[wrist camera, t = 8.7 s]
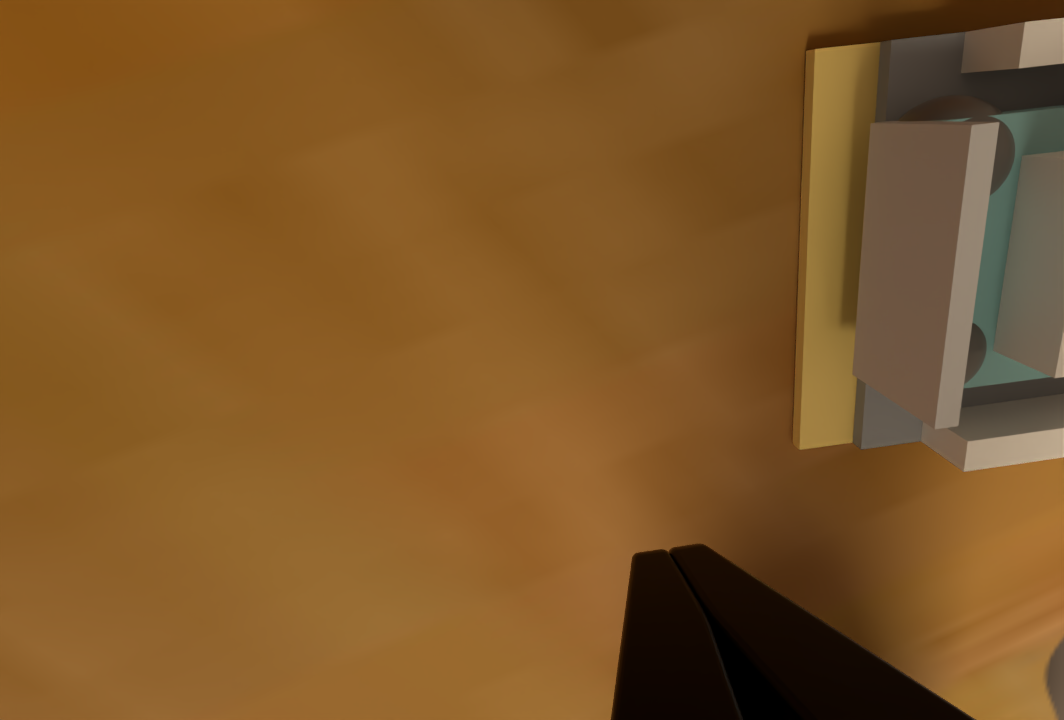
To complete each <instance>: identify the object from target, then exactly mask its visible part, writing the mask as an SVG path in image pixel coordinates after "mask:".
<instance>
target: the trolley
mask: <svg viewBox="0 0 1064 720" xmlns="http://www.w3.org/2000/svg"><path fill="white" fill-rule="evenodd" d="M852 375H854V376H855V377H857V378H858V379H860V380H861V381H863V382H864V383H866V384H867V385H869V386H870V387H872V388H873V389H875V390H876V391H878V392H879V393H881V394H882V395H884V396H885V397H887V398H888V399H890V400H891V401H893V402H894V403H896V404H897V405H899V406H900V407H902V408H903V409H905V410H906V411H908V412H909V413H911V414H912V415H914V416H915V417H917V418H918V419H920V420H921V421H923V422H924V423H926V424H927V425H929V426H930V427H932V428H933V429H941V428H949V427H956V426H958V425H959V417H960V410H961V402H962V395H963V389H964V388H972V387H979V386H987V385H994V384H1002V383H1010V382H1017V381H1025V380H1032V379H1040V378H1047V377H1053V378H1060V377H1064V105H1059V106H1050V107H1041V108H1031V109H1022V110H1013V111H1004V112H1001V111H1000V110H999V109H998V108H996V107H995V106H994V105H992V104H990V103H989V102H987V101H985V100H982V99H979V98H975V97H972V96H965V95H949V96H943V97H937V98H934V99H931V100H928V101H926V102H923V103H921V104H919V105H917V106H916V107H914V108H913V109H911V110H909V111H908V112H907V113H905V114H904V115H903V116H902V117H901V118H900V119H899V120H898V121H886V122H877V123H871V125H870V138H869V152H868V166H867V180H866V194H865V207H864V221H863V235H862V249H861V263H860V276H859V290H858V304H857V318H856V332H855V345H854V359H853V373H852Z"/></svg>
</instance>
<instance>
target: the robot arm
mask: <svg viewBox="0 0 1064 720" xmlns="http://www.w3.org/2000/svg"><path fill="white" fill-rule="evenodd" d="M611 720H976V719H974V718H972V717H971V716H969V715H968V714H966V713H965V712H963V711H962V710H960V709H958V708H957V707H955V706H954V705H952V704H951V703H949V702H948V701H946V700H945V699H943V698H941V697H940V696H938V695H937V694H935V693H934V692H932V691H931V690H929V689H927V688H926V687H924V686H923V685H921V684H920V683H918V682H917V681H915V680H914V679H912V678H910V677H909V676H907V675H906V674H904V673H903V672H901V671H900V670H898V669H896V668H895V667H893V666H892V665H890V664H889V663H887V662H886V661H884V660H883V659H881V658H879V657H878V656H876V655H875V654H873V653H872V652H870V651H869V650H867V649H866V648H864V647H862V646H861V645H859V644H858V643H856V642H855V641H853V640H852V639H850V638H848V637H847V636H845V635H844V634H842V633H841V632H839V631H838V630H836V629H835V628H833V627H831V626H830V625H828V624H827V623H825V622H824V621H822V620H821V619H819V618H817V617H816V616H814V615H813V614H811V613H810V612H808V611H807V610H805V609H804V608H802V607H800V606H799V605H797V604H796V603H794V602H793V601H791V600H790V599H788V598H787V597H785V596H783V595H782V594H780V593H779V592H777V591H776V590H774V589H773V588H771V587H769V586H768V585H766V584H765V583H763V582H762V581H760V580H759V579H757V578H756V577H754V576H752V575H751V574H749V573H748V572H746V571H745V570H743V569H742V568H740V567H738V566H737V565H735V564H734V563H732V562H731V561H729V560H728V559H726V558H725V557H723V556H721V555H720V554H718V553H717V552H715V551H714V550H712V549H711V548H709V547H708V546H706V545H703V544H693V545H686V546H680V547H673V548H671V549H670V550H669V552H668V551H666V550H663V549H659V550H653V551H646V552H639V553H636V554H634V555H633V557H632V563H631V570H630V578H629V586H628V593H627V601H626V608H625V616H624V624H623V631H622V639H621V646H620V654H619V662H618V669H617V677H616V685H615V692H614V700H613V707H612V715H611Z"/></svg>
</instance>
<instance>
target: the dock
mask: <svg viewBox="0 0 1064 720" xmlns="http://www.w3.org/2000/svg"><path fill="white" fill-rule="evenodd" d="M949 95H965V96H972V97H975V98H979V99H982V100H985V101H987V102H989V103H990V104H992V105H994V106H995V107H996V108H998V109H999V110H1000V111H1001V112H1004V111H1013V110H1022V109H1031V108H1041V107H1050V106H1059V105H1064V18H1057V19H1048V20H1039V21H1030V22H1022V23H1016V24H1010V25H1004V26H998V27H992V28H986V29H980V30H974V31H968V32H960V33H951V34H942V35H933V36H924V37H915V38H905V39H896V40H889V41H883V42H876V43H866V44H857V45H848V46H839V47H830V48H821V49H813V50H808V51H806V67H805V96H804V125H803V154H802V183H801V212H800V241H799V270H798V299H797V328H796V357H795V386H794V415H793V444H794V445H795V446H796V447H797V448H798V449H799V450H803V449H810V448H818V447H825V446H832V445H839V444H846V443H854V444H855V445H856V446H857V447H859V448H860V449H861V450H862V449H869V448H876V447H883V446H890V445H897V444H904V443H911V442H918V441H921V442H923V443H924V444H925V445H927V446H928V447H930V448H931V449H932V450H934V451H935V452H937V453H938V454H940V455H941V456H942V457H944V458H945V459H947V460H948V461H949V462H951V463H952V464H954V465H955V466H956V467H958V468H959V469H961V470H962V471H963V472H966V471H972V470H979V469H986V468H993V467H1000V466H1007V465H1014V464H1021V463H1028V462H1035V461H1042V460H1048V459H1055V458H1062V457H1064V377H1060V378H1053V377H1047V378H1040V379H1032V380H1025V381H1017V382H1010V383H1002V384H994V385H987V386H979V387H972V388H964V389H963V395H962V402H961V410H960V417H959V425H958V426H956V427H949V428H941V429H933V428H932V427H930V426H929V425H927V424H926V423H924V422H923V421H921V420H920V419H918V418H917V417H915V416H914V415H912V414H911V413H909V412H908V411H906V410H905V409H903V408H902V407H900V406H899V405H897V404H896V403H894V402H893V401H891V400H890V399H888V398H887V397H885V396H884V395H882V394H881V393H879V392H878V391H876V390H875V389H873V388H872V387H870V386H869V385H867V384H866V383H864V382H863V381H861V380H860V379H858V378H857V377H855V376H854V375H852V373H853V359H854V345H855V332H856V318H857V304H858V290H859V276H860V263H861V249H862V235H863V221H864V207H865V194H866V180H867V166H868V152H869V138H870V125H871V123H877V122H886V121H898V120H899V119H900V118H901V117H902V116H903V115H904V114H905V113H907V112H908V111H909V110H911V109H913V108H914V107H916V106H917V105H919V104H921V103H923V102H926V101H928V100H931V99H934V98H937V97H943V96H949Z"/></svg>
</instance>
